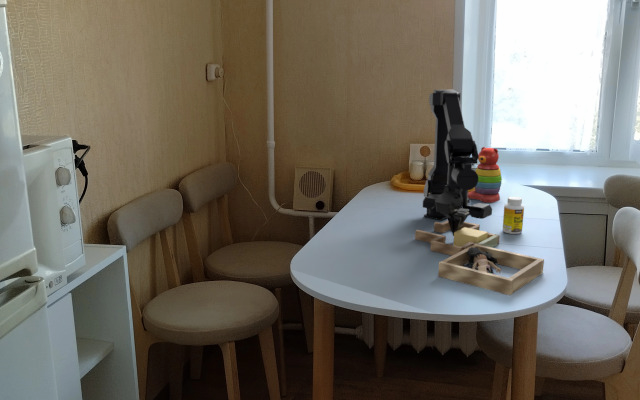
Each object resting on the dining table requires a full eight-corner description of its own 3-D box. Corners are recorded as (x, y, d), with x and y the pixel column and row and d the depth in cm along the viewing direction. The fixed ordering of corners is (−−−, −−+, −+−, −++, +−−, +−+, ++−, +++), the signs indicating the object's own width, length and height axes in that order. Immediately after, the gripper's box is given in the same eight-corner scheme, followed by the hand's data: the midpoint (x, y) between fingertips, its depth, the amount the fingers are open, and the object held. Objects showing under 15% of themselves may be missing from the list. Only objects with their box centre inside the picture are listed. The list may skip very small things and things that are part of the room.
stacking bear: (464, 197, 237) (466, 147, 232) (483, 193, 243) (486, 144, 238) (488, 203, 228) (491, 151, 224) (507, 199, 234) (511, 148, 230)
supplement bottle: (513, 235, 194) (515, 201, 191) (498, 231, 198) (500, 197, 196) (526, 232, 197) (529, 198, 194) (511, 228, 201) (513, 194, 199)
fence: (438, 276, 163) (438, 262, 162) (474, 256, 177) (475, 243, 176) (510, 295, 151) (511, 280, 151) (542, 272, 165) (544, 259, 164)
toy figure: (506, 286, 158) (492, 261, 172) (505, 262, 156) (490, 239, 170) (475, 289, 158) (463, 264, 172) (473, 265, 156) (462, 241, 171)
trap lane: (404, 244, 187) (404, 235, 186) (445, 225, 203) (445, 217, 203) (469, 259, 174) (470, 250, 174) (507, 239, 191) (508, 230, 190)
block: (453, 246, 186) (454, 232, 185) (464, 240, 190) (464, 227, 189) (476, 251, 181) (477, 237, 180) (486, 246, 186) (487, 232, 185)
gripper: (412, 181, 185) (411, 236, 189) (475, 192, 173) (471, 250, 177) (434, 174, 193) (431, 227, 197) (494, 184, 181) (490, 240, 185)
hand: (455, 235), depth 189 cm, fingers closed
